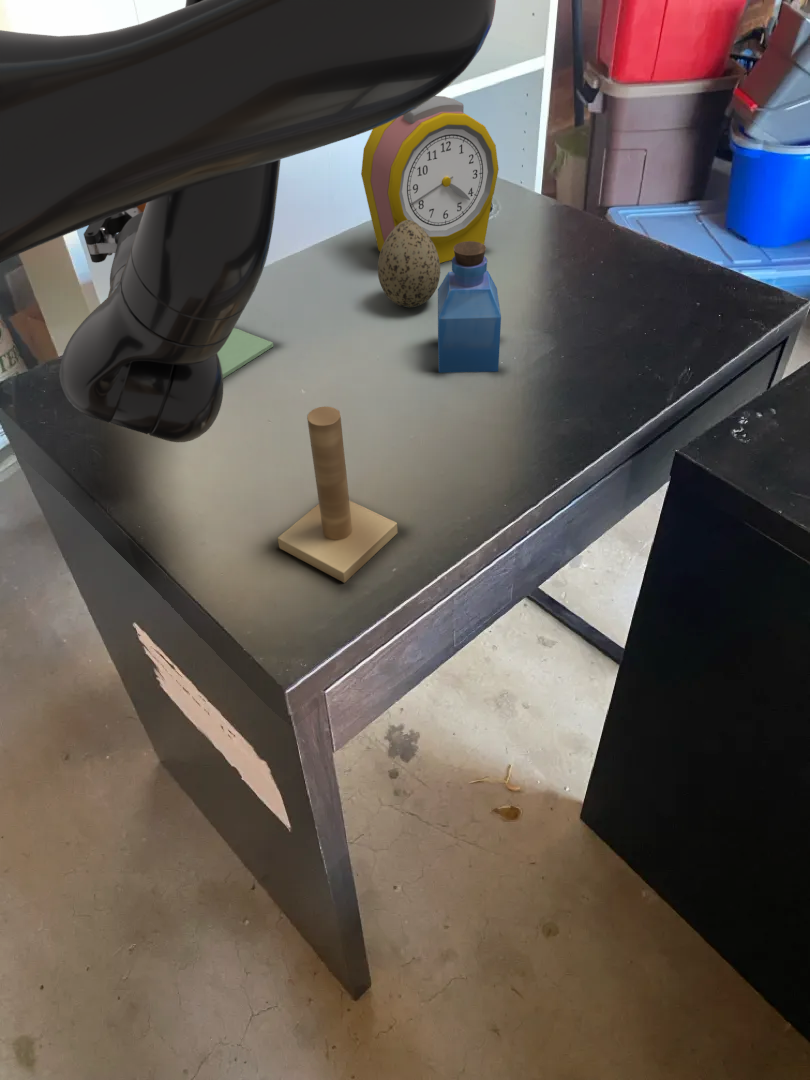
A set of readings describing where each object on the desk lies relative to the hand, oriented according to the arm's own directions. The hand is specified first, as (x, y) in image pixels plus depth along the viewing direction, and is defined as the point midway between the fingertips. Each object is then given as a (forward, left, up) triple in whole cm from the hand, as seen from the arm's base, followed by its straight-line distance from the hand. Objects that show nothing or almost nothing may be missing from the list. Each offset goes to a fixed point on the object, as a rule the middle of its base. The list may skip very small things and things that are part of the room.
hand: (171, 198), depth 81 cm
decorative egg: (+20, -14, -16) cm, 29 cm away
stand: (-16, -33, -16) cm, 40 cm away
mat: (-2, -2, -16) cm, 16 cm away
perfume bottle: (+14, -26, -16) cm, 34 cm away
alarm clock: (+33, -8, -16) cm, 38 cm away
